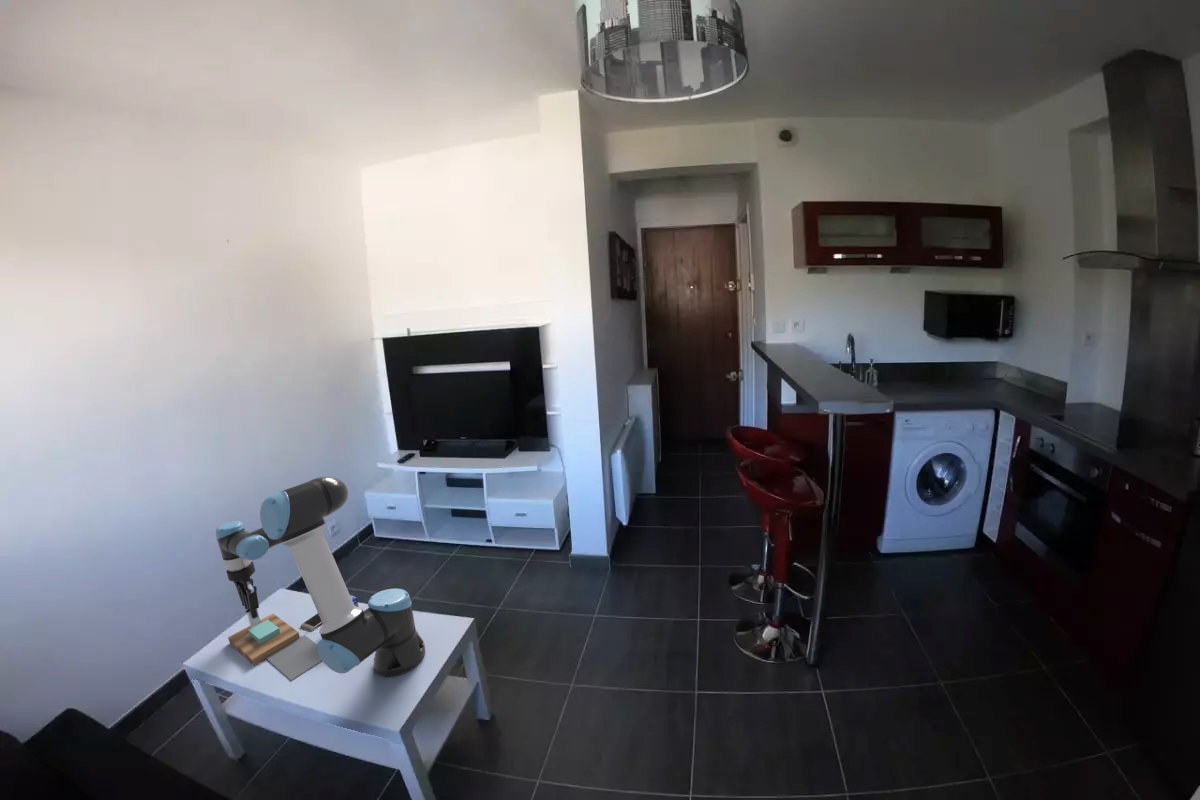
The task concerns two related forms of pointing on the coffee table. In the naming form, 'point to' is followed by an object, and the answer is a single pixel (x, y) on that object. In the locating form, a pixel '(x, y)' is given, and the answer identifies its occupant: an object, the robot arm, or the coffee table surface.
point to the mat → (296, 657)
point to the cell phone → (312, 623)
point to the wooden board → (261, 651)
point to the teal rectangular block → (264, 631)
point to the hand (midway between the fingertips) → (255, 624)
